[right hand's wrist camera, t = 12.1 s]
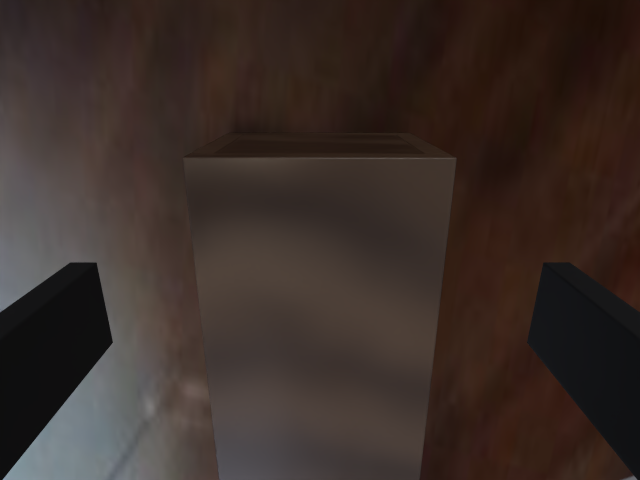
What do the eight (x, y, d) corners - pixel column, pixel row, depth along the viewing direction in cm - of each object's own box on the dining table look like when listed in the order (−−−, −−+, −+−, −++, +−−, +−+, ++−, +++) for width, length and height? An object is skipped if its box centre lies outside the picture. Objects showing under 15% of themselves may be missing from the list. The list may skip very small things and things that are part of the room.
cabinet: (389, 410, 32) (414, 525, 24) (249, 410, 32) (223, 525, 24) (410, 132, 25) (457, 157, 16) (228, 132, 25) (181, 157, 16)
